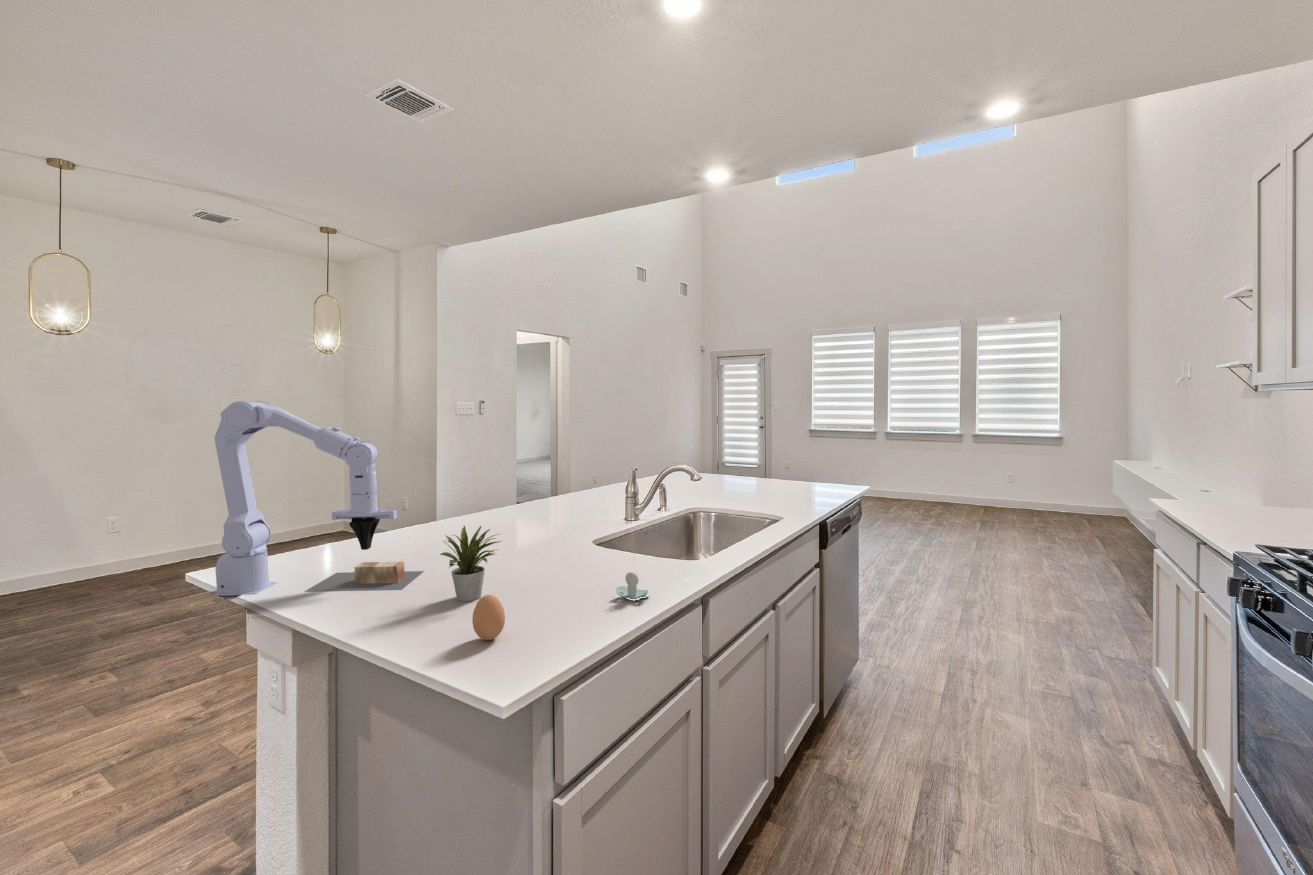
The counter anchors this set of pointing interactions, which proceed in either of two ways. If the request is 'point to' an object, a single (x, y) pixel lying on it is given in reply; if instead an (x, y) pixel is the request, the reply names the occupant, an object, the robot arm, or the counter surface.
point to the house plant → (469, 565)
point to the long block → (379, 572)
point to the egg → (488, 617)
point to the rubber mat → (348, 583)
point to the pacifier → (631, 588)
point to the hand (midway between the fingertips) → (366, 548)
